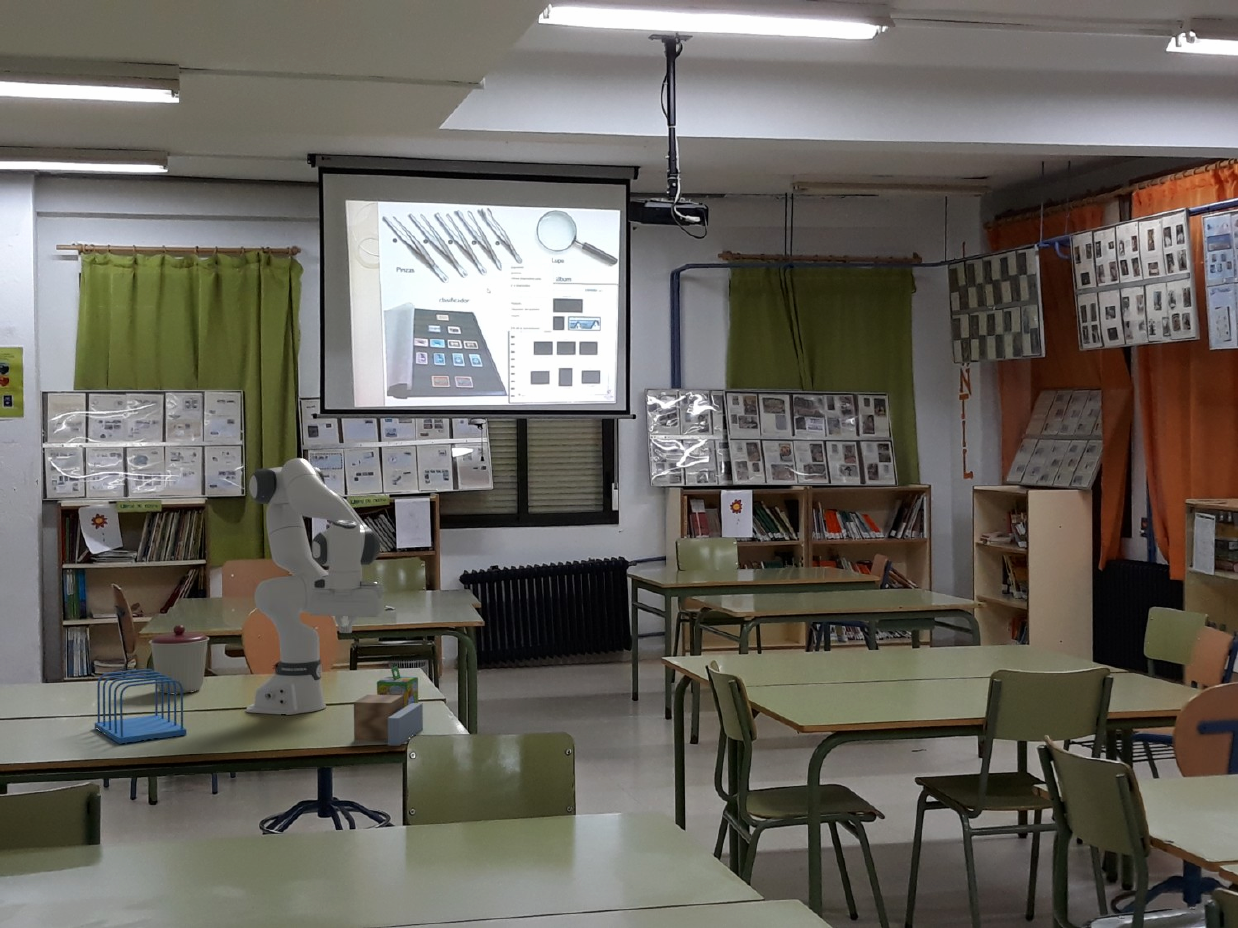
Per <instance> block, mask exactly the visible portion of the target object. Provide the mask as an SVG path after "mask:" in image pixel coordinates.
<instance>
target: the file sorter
mask: <svg viewBox="0 0 1238 928" xmlns="http://www.w3.org/2000/svg"><path fill="white" fill-rule="evenodd" d="M107 676H108V677H107ZM159 676H160V678H157V677H159ZM104 677H107V678H105V680H104V682H103V683H102V720H103V721H101V702H100V701H101V700H100V698H101V695H100V694H101V693H100V691H101V687H100V686H101V685H100V684H101V681H102V679H103V678H104ZM111 679H114V680H113V681H112V682H110V684H109V686H108V720H106V684H107V682H108V681H109V680H111ZM163 679H166V680H165V681H163ZM157 680H161V681H157ZM120 681H122V682H120ZM117 682H120V683H118V684H117V685H116V686H115V687H114V690H113V713H114V714H113V720H112V687H113V685H114V684H115V683H117ZM170 682H173V685H174V694H173V721H172V720H171V694H170ZM175 682H176V683H178V684H179V686H180V690H181V694H180V724H178V723H177V694H176V683H175ZM157 683H161V692H160V694H161V695H160V696H161V697H160V698H161V699H160V700H161V701H160V703H161V704H160V705H161V707H160V708H161V709H160V711H161V715H160V714H159V713H158V710H159V709H158V706H159V705H158V703H159V702H158V691H159V689H158V687H157ZM163 683H167V685H168V694H167V717H165V716H164V712H165V711H164V710H165V709H164V706H165V705H164V704H165V703H164V702H165V701H164V694H165V693H163ZM125 684H127V685H125ZM122 685H125V686H124V687H123V688H122V689H121V691H120V694H119V705H120V706H119V714H120V715H119V717H120V718H119V719H117V715H118V714H117V713H118V712H117V692H118V691H117V690H118V689H119V688H120V687H121V686H122ZM147 685H155V686H154V688H155V693H154V695H155V696H154V698H155V699H154V701H155V702H154V703H155V706H154V707H155V708H154V710H155V711H154V712H155V713H154V715H153V714H152V715H145V716H137V717H130V718H129V717H128V718H123V717H124V716H123V715H124V714H123V713H124V712H123V696H124V695H123V694H124V691H125V690H127V689H128V688H130V687H139V686H147ZM96 695H97V696H96V697H97V701H96V702H97V721H96V722H94V729H95V728H98V729H99V730H100V731H101V732H102V734H103V733H105V734H106V735H107V736H106V735H105V736H106V737H108V738H109V739H111V738H112V739H113V740H112V739H111V740H112V741H114V742H116V743H117V744H119V745H120V744H121V745H123V744H122V743H125V744H128V743H127V742H132V743H136V742H142V741H141V740H144V741H148V740H147V739H151V740H154V739H153V738H158V739H165V738H170V737H171V738H174V737H173V736H176V737H181V736H180V735H183V736H186V735H187V728H185V727H184V694H183V688H182V685H181V683H180V682H178V681H176V680H173V679H172V678H169V677H167V676H165V675H162V674H160V673H158V672H155V671H154V670H153V669H150V668H144V669H142V668H141V669H133V670H123V671H116V672H113V671H112V672H107V673H106V672H105V673H103V674H102V675H101V676H100V677H99V678H98V679H97V694H96ZM100 731H99V732H100ZM101 732H100V733H101Z"/></svg>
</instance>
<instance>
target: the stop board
mask: <svg viewBox="0 0 1238 928" xmlns="http://www.w3.org/2000/svg"><path fill="white" fill-rule="evenodd" d="M423 705H424V703H422V702H418V703H411V704H409V705H408V706H406V707H405V708H403V709H401V710H400V711H398V712H396V713H395V714H393V715H392V716H390V717H388V741H387V746H393V747H394V746H397V747H398V746H401V745H403V744H404V743H405V742H407V741H408V740H409V739H408V738H409V737H411V736H412V735H414V734H415V735H416V734H418V733H419V731H420V732H421V731H422V730H423V729H424V726H423V725H424V720H423V719H424V717H423V716H424V713H423V710H424V709H423V708H424V706H423ZM415 735H414V736H415ZM412 737H413V736H412ZM412 737H411V738H412ZM407 739H408V740H407Z"/></svg>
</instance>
